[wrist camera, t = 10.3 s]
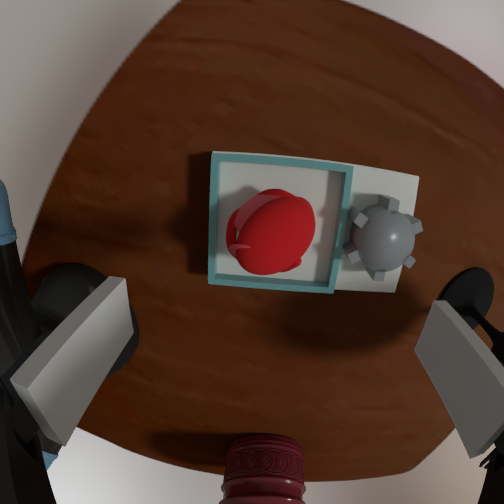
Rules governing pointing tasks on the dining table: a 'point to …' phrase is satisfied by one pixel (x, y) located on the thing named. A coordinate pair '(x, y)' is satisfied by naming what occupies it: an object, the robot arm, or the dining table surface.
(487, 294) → the wine glass
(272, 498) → the canister
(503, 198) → the dining table surface
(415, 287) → the dining table surface
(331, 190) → the carrier board
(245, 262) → the cap
